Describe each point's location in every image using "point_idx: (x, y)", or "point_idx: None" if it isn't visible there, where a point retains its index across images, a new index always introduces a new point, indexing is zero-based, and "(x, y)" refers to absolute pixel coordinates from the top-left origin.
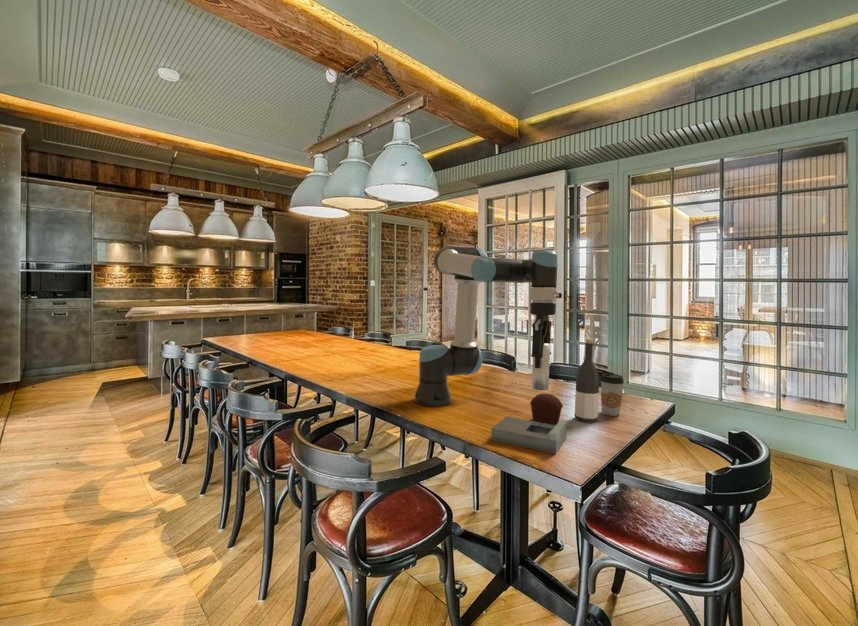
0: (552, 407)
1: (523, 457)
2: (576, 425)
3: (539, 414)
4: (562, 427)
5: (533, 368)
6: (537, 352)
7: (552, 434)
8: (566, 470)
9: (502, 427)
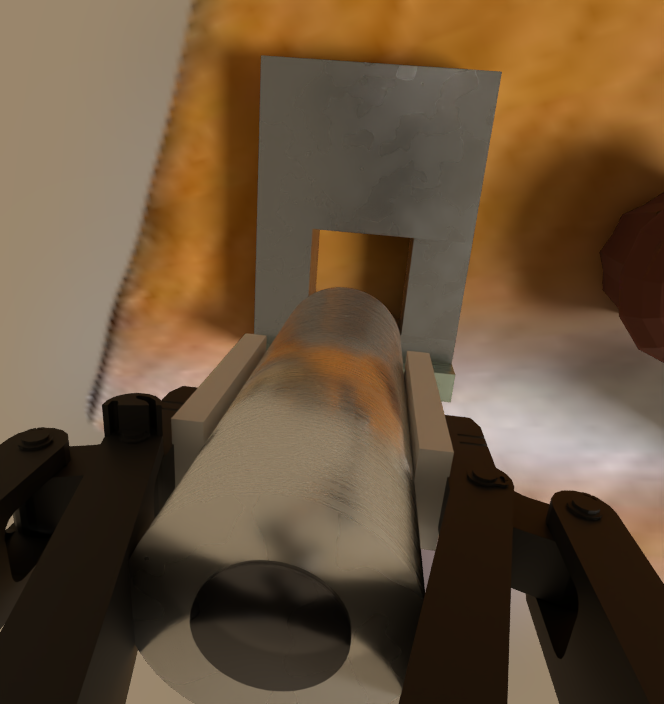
0: (631, 324)
1: (177, 248)
2: (653, 395)
3: (627, 242)
4: None
5: (268, 351)
6: (20, 518)
7: None
8: (158, 392)
9: (299, 109)
